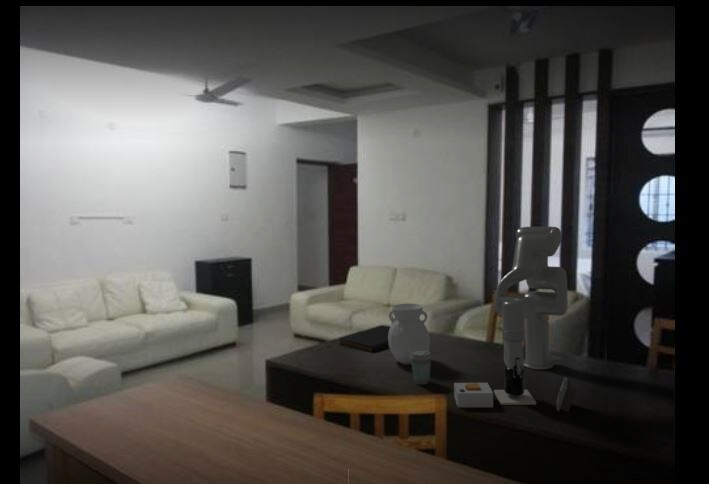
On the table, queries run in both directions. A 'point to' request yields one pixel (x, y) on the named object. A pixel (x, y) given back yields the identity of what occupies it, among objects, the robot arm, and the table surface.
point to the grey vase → (407, 331)
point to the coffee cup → (421, 366)
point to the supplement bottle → (508, 382)
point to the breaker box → (473, 396)
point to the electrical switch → (565, 395)
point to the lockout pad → (514, 398)
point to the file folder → (368, 339)
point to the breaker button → (472, 386)
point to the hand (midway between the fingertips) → (514, 383)
